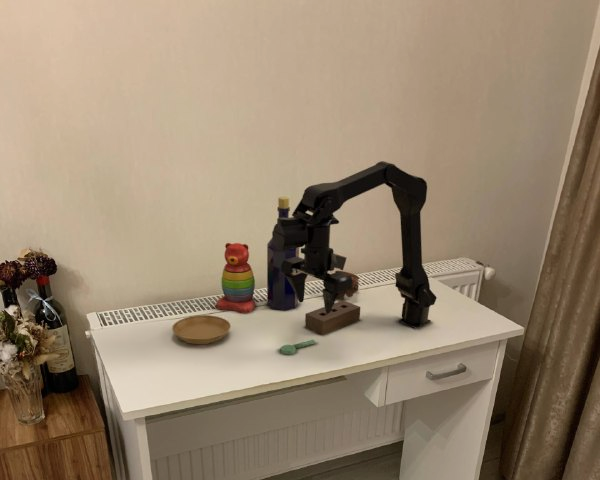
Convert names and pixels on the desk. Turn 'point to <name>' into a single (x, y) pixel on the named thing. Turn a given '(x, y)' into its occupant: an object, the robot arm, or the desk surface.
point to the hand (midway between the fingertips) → (314, 307)
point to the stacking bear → (237, 280)
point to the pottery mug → (349, 291)
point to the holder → (332, 317)
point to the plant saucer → (201, 329)
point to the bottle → (277, 283)
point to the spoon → (291, 348)
